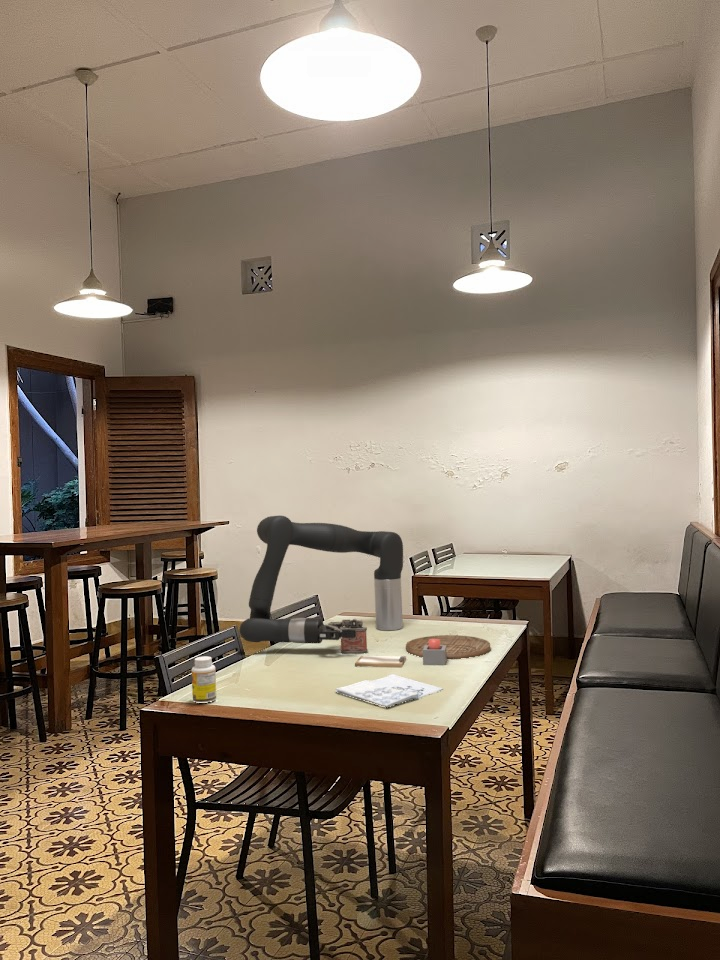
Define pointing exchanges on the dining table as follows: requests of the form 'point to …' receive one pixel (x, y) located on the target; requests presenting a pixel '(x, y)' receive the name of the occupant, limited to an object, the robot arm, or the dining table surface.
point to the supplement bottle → (203, 680)
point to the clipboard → (381, 661)
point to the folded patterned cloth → (388, 690)
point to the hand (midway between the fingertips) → (358, 630)
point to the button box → (434, 655)
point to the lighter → (357, 643)
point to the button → (434, 643)
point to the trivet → (452, 646)
